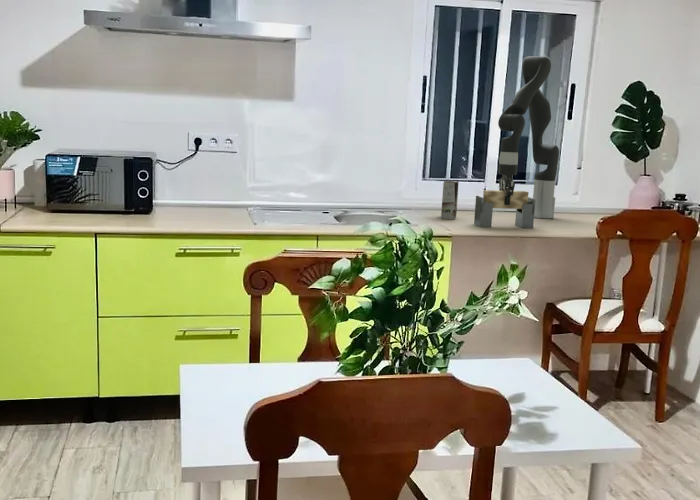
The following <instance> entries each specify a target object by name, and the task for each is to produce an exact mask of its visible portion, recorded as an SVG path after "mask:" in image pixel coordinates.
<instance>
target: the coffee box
mask: <svg viewBox="0 0 700 500" xmlns="http://www.w3.org/2000/svg"><path fill="white" fill-rule="evenodd" d="M459 183H460V182H459V180H458V181H457V180H444V181H443V184H442V186H443V187H442V199H441V214H440V218H441V219H442V220H443V219H445V220H456V218H457V212H458V211H457V210H458V196H459Z"/></svg>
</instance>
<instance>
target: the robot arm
mask: <svg viewBox="0 0 700 500" xmlns="http://www.w3.org/2000/svg"><path fill="white" fill-rule="evenodd" d="M551 68H552V63H551V59H550V58H549V57H548V56H544V55H543V56H542V55H541V56H540V55H539V56H538V55H536V56H535V55H534V56H533V55H532V56H531V55H530V56H529V55H528V56H526V57H524V58H523V60H522V67H521V70H522V76H523V81H524V85H523V86H522V87H521V88H520V89H519V90H517V92H516V93H515V95H514V97H513V99H512V101H511V103H510V105H509V106H508V107H506V109H505V110H504V111H503V112H502V113H501V115H500V116H499V119H498V122H497V123H498V129H500V130H501V131H504V132H512V133H511V135H510V136H506V137H503V138H502V139H501V144H500V153H499V161H498V162H499V163H498V175H502V176H501V178H499V179H498V186H499V187H498V189H499V190H498V191H505V201H504V205H510V196H511V195H513V192H514V191H515V185H516V182H515V181H514V179H513V176H516V175H517V174H518V165H519V163H518V162H519V146H520V140H521V137H522V133H523V132H524V128H525V125H526V119H525V117H524V115H525V114H526V113H527V111H528V114H529V115H528V116H529V121H530V129H531V130H530V131H531V141H532V142H531V143H532V147H531V149H532V159H533V162H534V163H535V164H536V165H544V166H547V167H546V168H545V169H544V170H543V171H539V172H536V173H535V174H534V181H533V182H534V183H533V195H532V198H533V199H536V201H535V213H534V218H537V219H555V218H554V215H555V204H556V197H555V188H556V187H555V186H556V177H557V172H558V164H559V159H560V157H559V156H560V148H559V147H558V145H555V144H544V143H543V135H544V134H545V131H546V129H547V127H548V126H549V124H550V122H551V120H552V111H551V104H550V102H549V100H548V99H547V97H546V95H545V94H544V93H543V92H542V91H541V90H540V88H541V87H542V86H543V84H544V83H545V82H546V80H547V78H548V77H549V76H550V73H551Z"/></svg>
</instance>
